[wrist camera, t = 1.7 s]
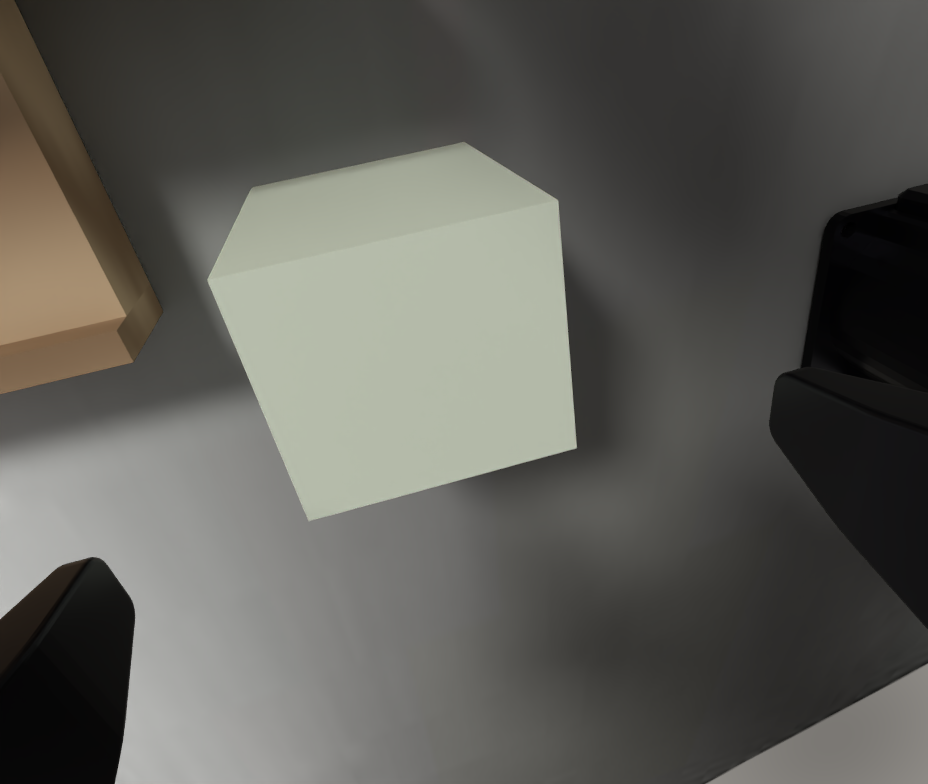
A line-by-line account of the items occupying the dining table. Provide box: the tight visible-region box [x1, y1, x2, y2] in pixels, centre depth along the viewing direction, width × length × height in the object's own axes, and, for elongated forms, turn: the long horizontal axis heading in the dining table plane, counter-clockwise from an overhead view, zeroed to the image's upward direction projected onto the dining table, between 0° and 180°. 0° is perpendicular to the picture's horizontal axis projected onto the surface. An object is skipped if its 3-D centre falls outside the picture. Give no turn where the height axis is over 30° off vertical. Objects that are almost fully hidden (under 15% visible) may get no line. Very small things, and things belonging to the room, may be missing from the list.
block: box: [207, 142, 577, 521], centre depth 13 cm, size 6×6×7 cm
